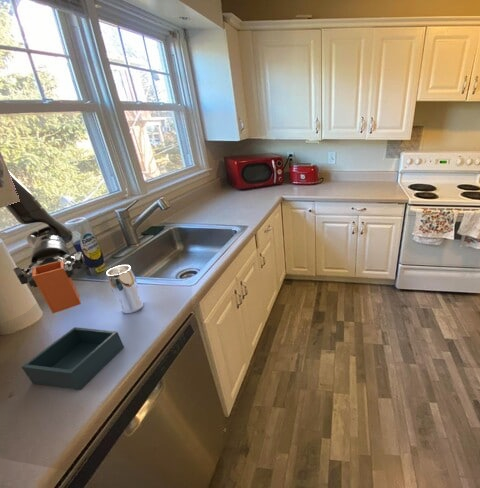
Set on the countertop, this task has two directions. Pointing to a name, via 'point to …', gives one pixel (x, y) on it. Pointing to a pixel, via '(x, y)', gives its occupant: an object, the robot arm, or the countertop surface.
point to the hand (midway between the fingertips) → (52, 278)
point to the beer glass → (125, 287)
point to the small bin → (56, 286)
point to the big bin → (74, 358)
